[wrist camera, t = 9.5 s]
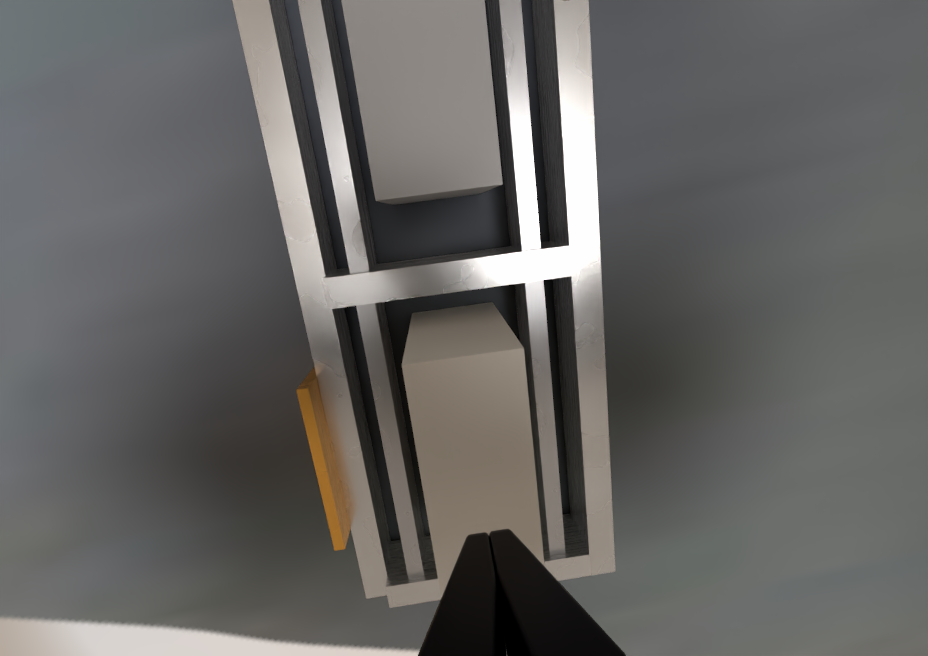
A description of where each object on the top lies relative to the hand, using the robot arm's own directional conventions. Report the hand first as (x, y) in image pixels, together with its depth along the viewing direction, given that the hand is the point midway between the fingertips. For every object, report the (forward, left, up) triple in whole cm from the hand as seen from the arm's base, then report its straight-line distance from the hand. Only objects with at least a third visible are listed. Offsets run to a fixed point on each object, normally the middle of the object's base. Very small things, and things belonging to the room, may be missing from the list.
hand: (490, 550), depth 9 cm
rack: (0, -5, -6) cm, 8 cm away
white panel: (0, 0, -6) cm, 6 cm away
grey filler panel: (0, -10, -6) cm, 12 cm away
